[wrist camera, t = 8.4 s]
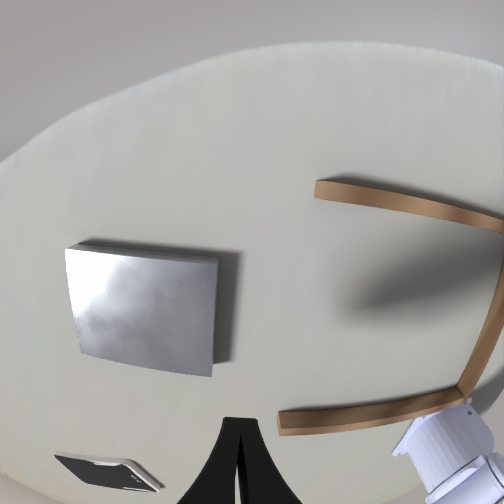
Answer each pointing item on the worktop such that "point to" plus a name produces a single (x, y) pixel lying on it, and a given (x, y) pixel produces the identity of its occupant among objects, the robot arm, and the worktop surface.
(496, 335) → the walnut u-shaped frame
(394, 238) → the worktop surface
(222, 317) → the worktop surface
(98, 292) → the cover plate
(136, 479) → the smartphone
